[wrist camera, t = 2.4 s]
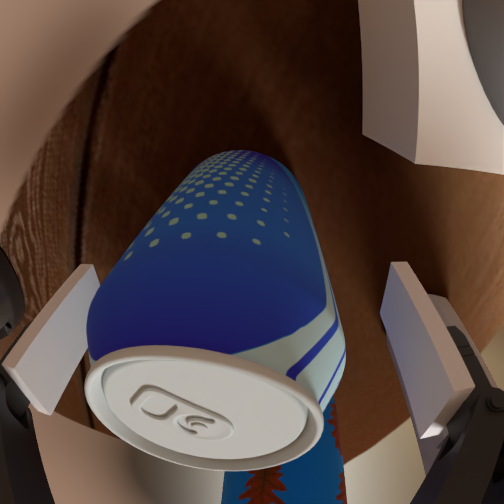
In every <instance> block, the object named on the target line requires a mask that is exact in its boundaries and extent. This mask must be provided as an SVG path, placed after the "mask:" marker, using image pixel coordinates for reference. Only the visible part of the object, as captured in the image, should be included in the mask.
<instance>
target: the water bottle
mask: <svg viewBox="0 0 504 504" xmlns="http://www.w3.org/2000/svg"><path fill="white" fill-rule="evenodd" d="M427 295H428V296H429V298H430V300H431V301H432V303H433V305H434V307H435V308H436V310H437V312H438V314H439V315H440V317H441V319H442V321H443V323H444V324H445V326H446V327H448V326H456V327H457V328H458V329H459V330H460V331H462V332H463V333H464V334H465V336H466V338H467V340H468V341H469V343H470V347H472V349H473V351H474V352H475V355H476V356H477V358H478V360H479V362H480V364H481V366H482V368H483V370H484V372H485V374H486V376H487V378H488V380H489V382H490V384H491V386H492V387H495V388H498V387H497V385H496V383H495V382H494V379H493V378H492V375H491V373H490V371H489V370H488V368H487V366H486V364H485V362H484V360H483V358H482V357H481V355H480V353H479V351H478V349H477V348H476V346H475V344H474V342H473V341H472V339H471V337H470V335H469V334H468V332H467V330H466V329H465V327H464V325H463V324H462V322H461V320H460V319H459V317H458V316H457V314H456V312H455V311H454V309H453V308H452V306H451V305H450V303H449V302H448V300H447V298H445V297H441V296H437V295H432V294H427ZM386 343H387V345H388V348H389V351H390V354H391V357H392V360H393V362H394V365H395V368H396V371H397V374H398V377H399V380H400V384H401V387H402V390H403V393H404V396H405V399H406V403H407V406H408V409H409V413H410V416H411V419H412V423H413V427H414V430H415V434H416V437H417V441H418V445H419V448H420V452H421V456H422V461H423V465H424V469H425V473H426V476H427V474H428V472H429V470H430V468H431V467H432V465H433V463H434V461H435V459H436V457H437V455H438V453H439V451H440V449H441V448H440V449H437V447H438V445H439V444H440V443H441V442H442V441H443V440H444V439H445V437H446V436H447V435H448V434H449V433H448V429H447V426H446V427H445V428H444V429H443V430H442V431H441V433H440V434H439V435H435V436H430V437H426V438H422V439H420V438H419V434H418V430H417V426H416V423H415V419H414V415H413V412H412V408H411V405H410V401H409V398H408V395H407V391H406V388H405V385H404V382H403V379H402V376H401V372H400V369H399V366H398V363H397V360H396V357H395V354H394V352H393V349H392V346H391V343H390V340H389V337H388V335H387V332H386Z"/></svg>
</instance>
